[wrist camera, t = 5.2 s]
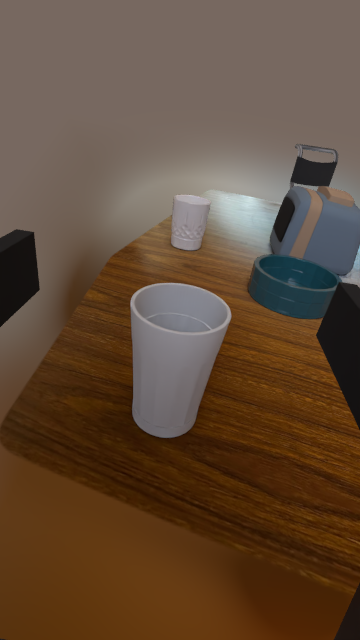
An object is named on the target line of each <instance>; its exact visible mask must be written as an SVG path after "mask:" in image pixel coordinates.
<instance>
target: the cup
mask: <svg viewBox="0 0 360 640" xmlns="http://www.w3.org/2000/svg"><path fill="white" fill-rule="evenodd" d="M230 319H231V311H230V309H229V307H228V305H227V304H226V303H225V302H224V301H223V300H222V299H221V298H220V297H218V296H217V295H215V294H213V293H211V292H209V291H207V290H205V289H202V288H199V287H195V286H192V285H187V284H180V283H159V284H153V285H149V286H146V287H144V288H142V289H140V290H138V291H137V292H136V293H135V294H134V295H133V297H132V299H131V329H132V341H133V405H132V415H133V418H134V420H135V422H136V424H137V425H138V426H139V427H140V428H141V429H142V430H144V431H145V432H147V433H149V434H151V435H153V436H157V437H163V438H171V437H177V436H180V435H182V434H184V433H186V432H187V431H189V430H190V429H191V428H192V426H193V425H194V423H195V420H196V416H197V412H198V407H199V404H200V402H201V399H202V396H203V393H204V390H205V387H206V384H207V381H208V379H209V376H210V373H211V370H212V367H213V364H214V361H215V358H216V356H217V354H218V352H219V349H220V346H221V344H222V341H223V338H224V336H225V333H226V330H227V328H228V325H229V322H230Z"/></svg>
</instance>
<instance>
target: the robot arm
mask: <svg viewBox="0 0 360 640" xmlns="http://www.w3.org/2000/svg"><path fill="white" fill-rule="evenodd" d="M38 291H39V279H38V268H37V259H36V248H35V239H34V232H29V231H23V230H14V231H12V232H11V233H9V234H7V235H5V236H3V237H1V238H0V327H1V326H2V325H3V324H4V323H5V322H6V321H7V320H8V319H9V318H10V317H11V316H12V315H13V314H14V313H16V311H18V310H19V309H20V308H21V307H22V306H23V305H24V304H25V303H26V302H27V301H28V300H29V299H30V298H31V297H32V296H34V295H35V294H36V293H37V292H38ZM316 336H317V338H318V341H319V343H320V345H321V347H322V349H323V351H324V354H325V356H326V358H327V360H328V362H329V364H330V367H331V369H332V371H333V373H334V375H335V377H336V379H337V382H338V384H339V386H340V388H341V390H342V392H343V395H344V397H345V399H346V401H347V403H348V405H349V408H350V410H351V412H352V414H353V416H354V418H355V421H356V423H357V425H358V427H359V429H360V288H359V287H358V286H357V285H355V284H349V283H342V282H339V283H338V285H337V287H336V290H335V292H334V294H333V297H332V299H331V301H330V304H329V306H328V309H327V311H326V313H325V316H324V318H323V320H322V323H321V325H320V327H319V330H318V332H317V334H316ZM0 640H4V639H0ZM334 640H360V583H359V586H358V588H357V590H356V592H355V594H354V597H353V599H352V601H351V603H350V605H349V608H348V610H347V612H346V614H345V616H344V619H343V621H342V623H341V625H340V628H339V630H338V632H337V634H336V636H335V639H334Z"/></svg>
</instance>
